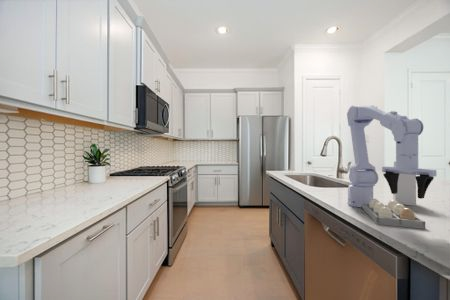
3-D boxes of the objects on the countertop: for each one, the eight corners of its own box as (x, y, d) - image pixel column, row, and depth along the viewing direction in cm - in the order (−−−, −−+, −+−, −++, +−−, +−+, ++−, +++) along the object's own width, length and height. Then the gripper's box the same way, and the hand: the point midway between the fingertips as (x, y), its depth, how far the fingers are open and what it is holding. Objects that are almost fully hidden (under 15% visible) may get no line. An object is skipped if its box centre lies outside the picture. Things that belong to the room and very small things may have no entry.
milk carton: (416, 206, 93) (415, 162, 93) (395, 204, 97) (395, 161, 97) (412, 202, 99) (412, 161, 99) (393, 200, 103) (393, 161, 103)
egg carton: (376, 223, 72) (376, 217, 72) (362, 208, 90) (362, 203, 90) (425, 228, 68) (425, 221, 68) (400, 211, 85) (400, 206, 85)
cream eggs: (380, 221, 73) (380, 207, 73) (368, 209, 88) (368, 197, 88) (417, 225, 70) (417, 210, 70) (397, 211, 85) (397, 199, 84)
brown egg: (410, 225, 70) (410, 210, 70) (397, 221, 73) (397, 207, 73) (417, 223, 71) (417, 209, 71) (404, 220, 75) (404, 206, 75)
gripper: (441, 155, 67) (441, 199, 67) (390, 154, 80) (390, 190, 80) (429, 156, 64) (429, 201, 64) (378, 154, 78) (378, 192, 78)
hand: (407, 195), depth 72 cm, fingers open, 7 cm apart
